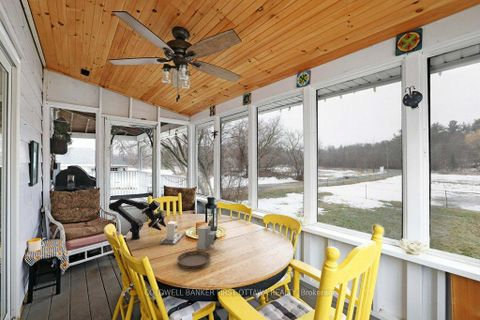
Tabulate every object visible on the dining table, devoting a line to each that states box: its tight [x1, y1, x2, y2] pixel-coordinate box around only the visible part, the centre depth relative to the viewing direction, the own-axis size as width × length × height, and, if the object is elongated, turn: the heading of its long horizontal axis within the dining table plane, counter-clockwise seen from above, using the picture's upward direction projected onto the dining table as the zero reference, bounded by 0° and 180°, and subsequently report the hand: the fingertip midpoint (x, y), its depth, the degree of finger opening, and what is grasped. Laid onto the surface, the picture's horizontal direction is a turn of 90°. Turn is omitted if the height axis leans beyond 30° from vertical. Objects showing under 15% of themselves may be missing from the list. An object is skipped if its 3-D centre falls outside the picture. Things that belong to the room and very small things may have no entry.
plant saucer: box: [176, 250, 211, 269], centre depth 136 cm, size 21×21×3 cm
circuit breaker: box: [196, 224, 218, 251], centre depth 160 cm, size 8×14×15 cm, turn 78°
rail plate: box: [159, 233, 185, 246], centre depth 175 cm, size 12×20×2 cm, turn 175°
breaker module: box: [166, 220, 178, 240], centre depth 175 cm, size 7×6×13 cm
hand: (163, 228), depth 175 cm, fingers open, 9 cm apart
